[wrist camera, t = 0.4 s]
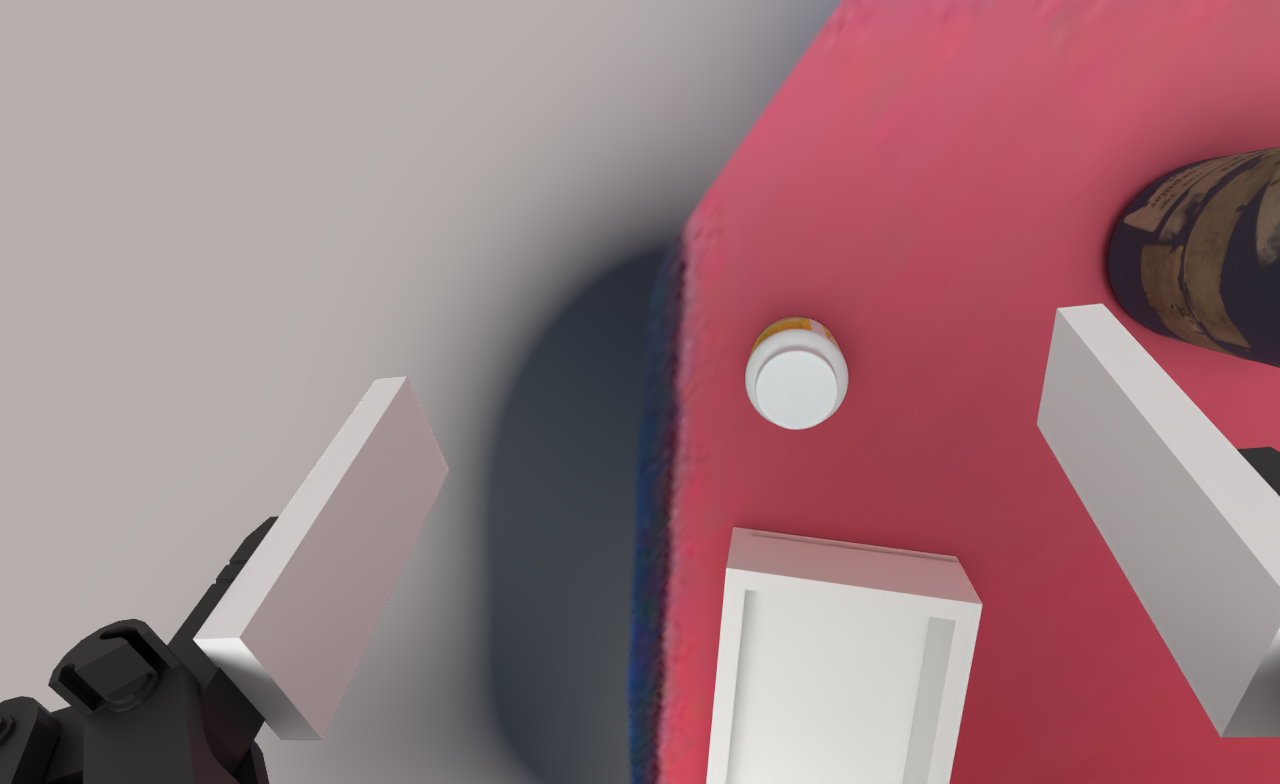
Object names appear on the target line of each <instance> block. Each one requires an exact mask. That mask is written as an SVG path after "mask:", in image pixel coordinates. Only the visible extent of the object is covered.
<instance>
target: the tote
mask: <svg viewBox="0 0 1280 784" xmlns="http://www.w3.org/2000/svg"><path fill="white" fill-rule="evenodd" d="M982 605H983V604H982V602H981V601H980V599H979V597H978V595H977V593H976V591H975V590H974V588H973V586H972V584H971V582H970V580H969V579H968V577H967V575H966V573H965V571H964V569H963V568H962V566H961V564H960V562H959V560H958V558H957V557H956V556H949V555H942V554H934V553H927V552H919V551H912V550H904V549H897V548H889V547H881V546H874V545H866V544H859V543H851V542H844V541H836V540H829V539H821V538H814V537H806V536H798V535H791V534H783V533H776V532H768V531H761V530H753V529H746V528H738V527H733V531H732V537H731V543H730V549H729V555H728V561H727V567H726V577H725V588H724V599H723V609H722V620H721V631H720V642H719V652H718V663H717V674H716V685H715V695H714V706H713V717H712V728H711V738H710V749H709V760H708V771H707V781H706V784H949V782H950V776H951V771H952V766H953V760H954V755H955V750H956V744H957V739H958V734H959V728H960V723H961V717H962V712H963V707H964V701H965V696H966V691H967V685H968V680H969V675H970V669H971V664H972V659H973V653H974V648H975V642H976V637H977V632H978V626H979V621H980V616H981V610H982Z"/></svg>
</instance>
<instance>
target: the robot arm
mask: <svg viewBox="0 0 1280 784" xmlns="http://www.w3.org/2000/svg"><path fill="white" fill-rule="evenodd" d="M1037 426H1038V428H1039V429H1040V431H1041V433H1042V434H1043V436H1044V438H1045V439H1046V441H1047V443H1048V445H1049V446H1050V448H1051V450H1052V451H1053V453H1054V455H1055V456H1056V458H1057V460H1058V462H1059V463H1060V465H1061V467H1062V468H1063V470H1064V472H1065V473H1066V475H1067V477H1068V479H1069V480H1070V482H1071V484H1072V485H1073V487H1074V489H1075V490H1076V492H1077V494H1078V496H1079V497H1080V499H1081V501H1082V502H1083V504H1084V506H1085V507H1086V509H1087V511H1088V513H1089V514H1090V516H1091V518H1092V519H1093V521H1094V523H1095V524H1096V526H1097V528H1098V530H1099V531H1100V533H1101V535H1102V536H1103V538H1104V540H1105V542H1106V543H1107V545H1108V547H1109V548H1110V550H1111V552H1112V553H1113V555H1114V557H1115V559H1116V560H1117V562H1118V564H1119V565H1120V567H1121V569H1122V570H1123V572H1124V574H1125V576H1126V577H1127V579H1128V581H1129V582H1130V584H1131V586H1132V587H1133V589H1134V591H1135V593H1136V594H1137V596H1138V598H1139V599H1140V601H1141V603H1142V604H1143V606H1144V608H1145V610H1146V611H1147V613H1148V615H1149V616H1150V618H1151V620H1152V621H1153V623H1154V625H1155V627H1156V628H1157V630H1158V632H1159V633H1160V635H1161V637H1162V638H1163V640H1164V642H1165V644H1166V645H1167V647H1168V649H1169V650H1170V652H1171V654H1172V655H1173V657H1174V659H1175V661H1176V662H1177V664H1178V666H1179V667H1180V669H1181V671H1182V672H1183V674H1184V676H1185V678H1186V679H1187V681H1188V683H1189V684H1190V686H1191V688H1192V689H1193V691H1194V693H1195V695H1196V696H1197V698H1198V700H1199V701H1200V703H1201V705H1202V706H1203V708H1204V710H1205V712H1206V713H1207V715H1208V717H1209V718H1210V720H1211V722H1212V723H1213V725H1214V727H1215V729H1216V730H1217V732H1218V734H1219V735H1220V737H1280V452H1279V451H1277V450H1275V449H1273V448H1271V447H1263V448H1248V449H1236V448H1235V447H1234V446H1233V445H1232V444H1231V443H1230V442H1229V441H1228V440H1227V439H1226V438H1225V437H1224V435H1223V434H1222V433H1221V432H1220V431H1219V430H1218V429H1217V428H1216V427H1215V426H1214V425H1213V423H1212V422H1211V421H1210V420H1209V419H1208V418H1207V417H1206V416H1205V415H1204V414H1203V413H1202V411H1201V410H1200V409H1199V408H1198V407H1197V406H1196V405H1195V404H1194V403H1193V402H1192V401H1191V399H1190V398H1189V397H1188V396H1187V395H1186V394H1185V393H1184V392H1183V391H1182V390H1181V389H1180V387H1179V386H1178V385H1177V384H1176V383H1175V382H1174V381H1173V380H1172V379H1171V378H1170V377H1169V375H1168V374H1167V373H1166V372H1165V371H1164V370H1163V369H1162V368H1161V367H1160V366H1159V365H1158V364H1157V362H1156V361H1155V360H1154V359H1153V358H1152V357H1151V356H1150V355H1149V354H1148V353H1147V352H1146V350H1145V349H1144V348H1143V347H1142V346H1141V345H1140V344H1139V343H1138V342H1137V341H1136V340H1135V338H1134V337H1133V336H1132V335H1131V334H1130V333H1129V332H1128V331H1127V330H1126V329H1125V328H1124V326H1123V325H1122V324H1121V323H1120V322H1119V321H1118V320H1117V319H1116V318H1115V317H1114V316H1113V314H1112V313H1111V312H1110V311H1109V310H1108V309H1107V308H1106V307H1105V306H1104V305H1103V304H1093V305H1083V306H1074V307H1064V308H1057V312H1056V318H1055V323H1054V329H1053V335H1052V340H1051V346H1050V352H1049V357H1048V363H1047V369H1046V374H1045V380H1044V386H1043V391H1042V397H1041V403H1040V408H1039V414H1038V420H1037ZM448 471H449V469H448V466H447V464H446V462H445V460H444V457H443V455H442V453H441V451H440V448H439V446H438V444H437V442H436V439H435V437H434V435H433V433H432V430H431V428H430V426H429V424H428V421H427V419H426V417H425V415H424V412H423V410H422V408H421V406H420V404H419V401H418V399H417V397H416V394H415V392H414V390H413V388H412V385H411V383H410V381H409V379H408V377H407V376H406V377H396V378H387V379H377V380H375V381H374V383H373V384H372V386H371V387H370V388H369V390H368V391H367V393H366V394H365V395H364V397H363V398H362V400H361V401H360V403H359V404H358V406H357V407H356V408H355V410H354V411H353V412H352V414H351V416H350V417H349V418H348V420H347V421H346V422H345V424H344V425H343V427H342V428H341V430H340V431H339V433H338V434H337V435H336V437H335V438H334V440H333V441H332V442H331V444H330V445H329V447H328V448H327V450H326V451H325V452H324V454H323V455H322V457H321V458H320V460H319V461H318V462H317V464H316V465H315V466H314V468H313V469H312V471H311V472H310V474H309V475H308V476H307V478H306V479H305V481H304V482H303V484H302V485H301V486H300V488H299V489H298V491H297V492H296V493H295V495H294V496H293V498H292V499H291V501H290V502H289V503H288V505H287V506H286V508H285V509H284V511H283V512H282V513H281V515H280V516H278V517H270V518H269V519H267V520H266V521H265V522H264V523H263V524H262V525H260V526H259V527H258V528H257V529H256V530H255V531H253V532H252V533H251V534H250V535H249V536H248V537H246V539H245V540H244V542H243V543H242V544H241V545H240V547H239V548H238V550H237V551H236V552H235V554H234V555H233V556H232V558H231V559H230V560H229V561H230V564H229V565H226V566H225V567H224V569H223V570H222V571H221V573H220V574H219V575H218V577H217V578H216V584H212V585H211V587H210V588H209V589H208V590H207V592H206V593H205V595H204V596H203V597H202V599H201V600H200V601H199V603H198V604H197V606H196V607H195V608H194V610H193V611H192V612H191V614H190V615H189V617H188V618H187V619H186V621H185V622H184V623H183V625H182V626H181V627H180V629H179V630H178V632H177V633H176V634H175V636H174V637H173V638H172V640H171V641H170V642H169V644H168V645H166V644H165V643H164V642H163V641H162V640H161V639H160V638H159V637H158V636H157V635H156V633H155V632H154V631H153V630H152V629H151V628H150V627H149V626H148V625H147V624H146V623H145V622H143V621H139V620H137V619H129V620H122V621H117V622H115V623H113V624H110V625H108V626H105V627H103V628H100V629H99V630H97V631H96V632H94V633H92V634H91V635H89V636H88V637H86V638H85V639H83V640H81V641H80V642H79V643H78V644H77V645H76V646H75V647H74V648H73V649H71V650H70V651H69V652H68V653H67V654H66V655H65V656H64V657H63V659H62V660H61V661H60V663H59V664H58V665H57V666H56V668H55V669H54V670H53V673H52V676H51V678H50V681H49V684H48V686H49V687H51V688H52V689H53V690H54V691H55V692H56V693H57V694H59V695H60V696H61V697H62V698H63V699H64V700H65V701H67V702H68V703H69V704H70V705H71V706H70V707H67V708H63V709H60V710H57V711H54V712H51V713H50V712H49V711H48V710H47V709H46V708H45V707H43V706H42V705H41V704H40V703H39V702H37V701H36V700H35V699H34V698H30V697H23V696H22V697H21V696H20V697H17V698H13V699H9V700H5V701H3V702H1V703H0V784H269V780H268V775H267V771H266V767H265V762H264V757H263V753H262V751H261V749H260V748H259V746H258V744H257V743H256V742H255V741H254V739H255V737H256V735H257V733H258V732H259V730H260V728H261V726H262V724H263V722H264V721H265V722H266V723H267V724H268V725H269V727H270V728H271V729H272V730H273V731H274V732H275V733H276V734H277V736H278V737H279V738H280V739H281V740H323V738H324V736H325V734H326V732H327V730H328V728H329V725H330V723H331V721H332V719H333V717H334V715H335V713H336V711H337V708H338V706H339V704H340V702H341V700H342V698H343V696H344V693H345V691H346V689H347V687H348V685H349V683H350V681H351V679H352V676H353V674H354V672H355V670H356V668H357V666H358V664H359V661H360V659H361V657H362V655H363V653H364V651H365V648H366V646H367V644H368V642H369V640H370V638H371V636H372V634H373V632H374V629H375V627H376V625H377V623H378V621H379V619H380V617H381V614H382V612H383V610H384V608H385V606H386V604H387V601H388V599H389V597H390V595H391V593H392V591H393V589H394V587H395V584H396V582H397V580H398V578H399V576H400V574H401V572H402V569H403V567H404V565H405V563H406V561H407V559H408V557H409V555H410V553H411V550H412V548H413V546H414V544H415V542H416V540H417V538H418V535H419V533H420V531H421V529H422V527H423V525H424V523H425V520H426V518H427V516H428V514H429V512H430V510H431V508H432V506H433V503H434V501H435V499H436V497H437V495H438V493H439V490H440V488H441V486H442V484H443V482H444V480H445V478H446V476H447V473H448Z"/></svg>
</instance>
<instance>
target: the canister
mask: <svg viewBox="0 0 1280 784" xmlns="http://www.w3.org/2000/svg"><path fill="white" fill-rule="evenodd" d="M1108 271H1109V278H1110V282H1111V285H1112V288H1113V291H1114V293H1115V295H1116V297H1117V299H1118V301H1119V302H1120V304H1121V305H1122V307H1123V308H1124V309H1125V310H1126V312H1127V313H1128V314H1129V315H1130V316H1131V317H1132V318H1133V319H1135V320H1136V321H1137V322H1138V323H1140V324H1141V325H1143V326H1144V327H1146V328H1148V329H1149V330H1151V331H1153V332H1155V333H1158V334H1160V335H1162V336H1165V337H1168V338H1171V339H1174V340H1178V341H1181V342H1185V343H1189V344H1192V345H1196V346H1199V347H1202V348H1206V349H1209V350H1213V351H1216V352H1221V353H1225V354H1228V355H1232V356H1235V357H1238V358H1242V359H1246V360H1251V361H1256V362H1260V363H1264V364H1268V365H1272V366H1275V367H1279V368H1280V147H1275V148H1270V149H1264V150H1259V151H1253V152H1247V153H1241V154H1236V155H1230V156H1224V157H1218V158H1213V159H1207V160H1203V161H1199V162H1196V163H1192V164H1189V165H1187V166H1184V167H1181V168H1179V169H1177V170H1175V171H1173V172H1171V173H1168V174H1167V175H1165V176H1163V177H1162V178H1160V179H1159V180H1157V181H1156V182H1154V183H1153V184H1151V185H1150V186H1149V187H1147V188H1146V189H1145V190H1144V191H1143V192H1142V193H1141V194H1140V195H1138V196H1137V197H1136V198H1135V200H1134V201H1133V202H1132V203H1131V204H1130V205H1129V207H1128V208H1127V210H1126V211H1125V213H1124V214H1123V216H1122V217H1121V219H1120V220H1119V222H1118V224H1117V226H1116V229H1115V231H1114V234H1113V237H1112V240H1111V244H1110V248H1109V255H1108Z"/></svg>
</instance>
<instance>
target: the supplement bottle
mask: <svg viewBox="0 0 1280 784" xmlns="http://www.w3.org/2000/svg"><path fill="white" fill-rule="evenodd" d="M745 384H746V390H747V394H748V397H749V399H750V401H751V403H752V404H753V406H754V407H755V409H756V410H757V411H758V412H759V413H760V414H761V415H762V416H763V417H764V418H766V419H767V420H769V421H770V422H772V423H774V424H776V425H778V426H781V427H783V428H787V429H795V430H798V429H806V428H810V427H812V426H815V425H817V424H819V423H821V422H823V421H824V420H826V419H827V418H829V417H830V416H831V415H832V414H833V413H834V412H835V411H836V410H837V409H838V408H839V406H840V405H841V403H842V401H843V399H844V397H845V395H846V392H847V387H848V369H847V365H846V362H845V359H844V357H843V354H842V352H841V350H840V348H839V345H838V344H837V342H836V340H835V338H834V337H833V335H832V334H831V333H830V331H829V330H828V329H827V328H826V327H824V326H823V325H822V324H820V323H818V322H816V321H814V320H812V319H808V318H803V317H790V318H785V319H782V320H779V321H777V322H775V323H773V324H771V325H769V326H768V327H767V328H766V329H764V330H763V331H762V333H761V334H760V335H759V336H758V338H757V340H756V341H755V343H754V346H753V348H752V351H751V355H750V358H749V361H748V364H747V368H746V373H745Z"/></svg>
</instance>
